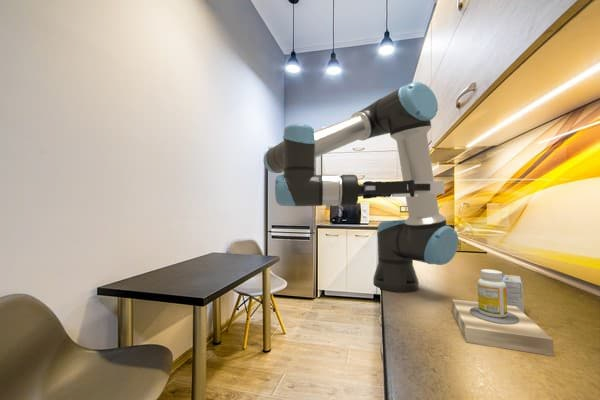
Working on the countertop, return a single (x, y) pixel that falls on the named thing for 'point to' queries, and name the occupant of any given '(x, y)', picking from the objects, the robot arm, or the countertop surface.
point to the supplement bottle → (492, 294)
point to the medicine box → (514, 291)
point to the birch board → (501, 329)
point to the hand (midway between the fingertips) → (429, 189)
